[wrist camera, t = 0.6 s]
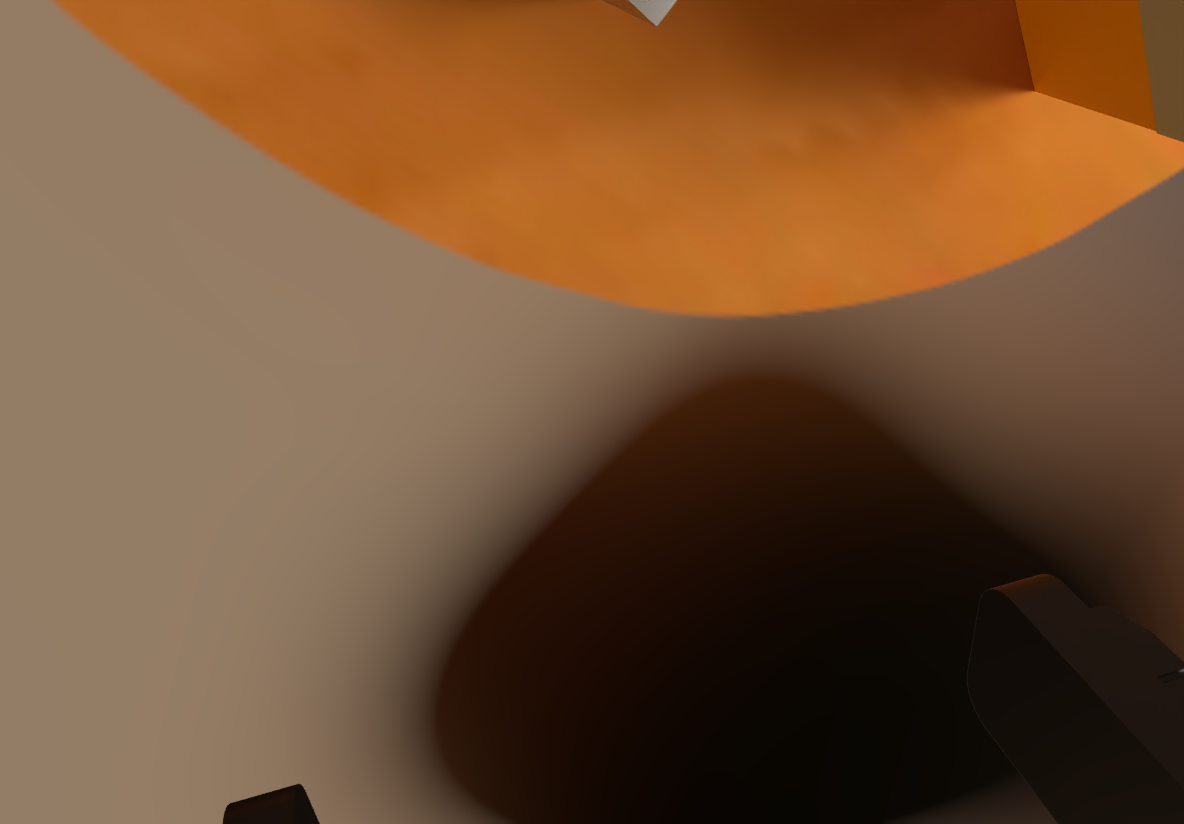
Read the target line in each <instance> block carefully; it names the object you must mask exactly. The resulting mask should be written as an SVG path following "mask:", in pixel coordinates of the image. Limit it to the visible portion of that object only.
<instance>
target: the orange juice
mask: <svg viewBox="0 0 1184 824" xmlns="http://www.w3.org/2000/svg"><path fill="white" fill-rule="evenodd" d="M1015 4H1016V8H1017V13H1018V17H1019V22H1020V26H1021V31H1022V36H1023V40H1024V45H1025V49H1026V54H1027V59H1028V63H1029V68H1030V72H1031V77H1032V81H1033V86H1034V91H1036V92H1039V93H1042V94H1045V95H1048V96H1051V97H1054V98H1057V99H1060V100H1063V101H1066V102H1069V103H1072V104H1075V105H1078V106H1081V107H1084V108H1087V109H1091V110H1094V111H1097V112H1100V113H1103V114H1106V115H1109V116H1112V117H1115V118H1118V119H1121V120H1124V121H1127V122H1130V123H1133V124H1136V125H1139V126H1142V127H1145V128H1148V129H1152V130H1155V131H1157V133H1158V134H1161V135H1164V136H1167V137H1170V138H1173V139H1176V140H1179V141H1182V142H1184V0H1015Z"/></svg>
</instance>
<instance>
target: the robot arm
mask: <svg viewBox="0 0 1184 824" xmlns="http://www.w3.org/2000/svg"><path fill="white" fill-rule="evenodd" d="M967 684H968V690H969V694H970V698H971V701H972V704H973V706H974V709H975V711H976V713H977V715H978V717H979V719H980V720H981V722H982V724H983V725H984V727H985V728H986V729H987V731H988V732H989V733H990V735H991V736H992V737H993V739H994V740H995V741H996V743H997V744H998V745H999V747H1000V748H1001V749H1002V750H1003V752H1004V753H1005V754H1006V756H1007V757H1008V758H1009V760H1010V761H1011V762H1012V764H1013V765H1014V766H1015V768H1016V769H1017V770H1018V771H1019V773H1020V774H1021V776H1022V777H1023V778H1024V779H1025V781H1026V782H1027V783H1028V785H1029V786H1030V787H1031V789H1032V790H1033V791H1034V793H1035V794H1036V795H1037V796H1038V798H1039V799H1040V800H1041V802H1042V803H1043V805H1044V806H1045V807H1046V808H1047V810H1048V811H1049V812H1050V814H1051V815H1052V816H1053V818H1054V819H1055V820H1056V822H1057V823H1058V824H1184V662H1183V661H1182V660H1181V659H1180V658H1179V657H1178V656H1177V655H1176V654H1174V653H1173V652H1172V651H1171V650H1170V649H1169V648H1168V647H1167V646H1166V645H1165V644H1164V643H1163V642H1162V641H1161V640H1160V639H1159V638H1158V637H1157V636H1156V635H1155V634H1153V633H1152V632H1151V631H1150V630H1148V629H1146V628H1144V627H1142V626H1140V625H1139V624H1137V623H1135V622H1133V621H1131V620H1130V619H1128V618H1126V617H1124V616H1122V615H1121V614H1118V613H1117V612H1115V611H1113V610H1111V609H1110V608H1108V607H1106V606H1104V605H1103V606H1100V607H1096V608H1093V609H1089V608H1088V607H1087V606H1086V605H1085V604H1084V603H1083V602H1082V601H1081V600H1080V599H1079V598H1078V597H1077V596H1076V595H1075V594H1074V593H1073V592H1072V591H1071V590H1070V589H1069V588H1068V587H1067V586H1066V585H1065V584H1064V583H1063V582H1061V581H1060V580H1059V579H1057V578H1056V577H1054V576H1051V575H1047V574H1042V575H1038V576H1034V577H1031V578H1027V579H1024V580H1020V581H1017V582H1013V583H1010V584H1006V585H1003V586H1000V587H996V588H992V589H989V590H987V591H985V592H984V593H983V594H982V596H981V598H980V602H979V608H978V613H977V619H976V625H975V631H974V637H973V643H972V649H971V654H970V660H969V666H968V672H967ZM223 824H320V823H319V821H318V819H317V816H316V814H315V812H314V810H313V807H312V805H311V803H310V800H309V798H308V796H307V794H306V792H305V789H304V788H303V786H302V785H301V784H296V785H293V786H290V787H286V788H282V789H279V790H275V791H272V792H268V793H265V794H261V795H258V796H254V797H251V798H248V799H244V800H240V801H237V802H233V803H230V804H229V805H228V806H227V807H226V810H225V813H224V818H223Z"/></svg>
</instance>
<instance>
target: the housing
mask: <svg viewBox="0 0 1184 824" xmlns="http://www.w3.org/2000/svg"><path fill="white" fill-rule="evenodd" d="M603 1H605V2H607V3H609V4H611V5H613V6H615V7H617V8H619V9H621V10H624V11H626V12H628V13H630V14H632V15H634V16H636V17H638V18H640V19H642V20H644V21H646V22H648V23H650V24H652V25H654V26H656V27H657V26H658V25H659V23H660V22H661V21H662V19H663V18H664V17H665V15H666V14H667V13H668V11H669V10H670V9H671V7H672V6H673V5H674V4H675V2H676V1H677V0H603Z"/></svg>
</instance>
